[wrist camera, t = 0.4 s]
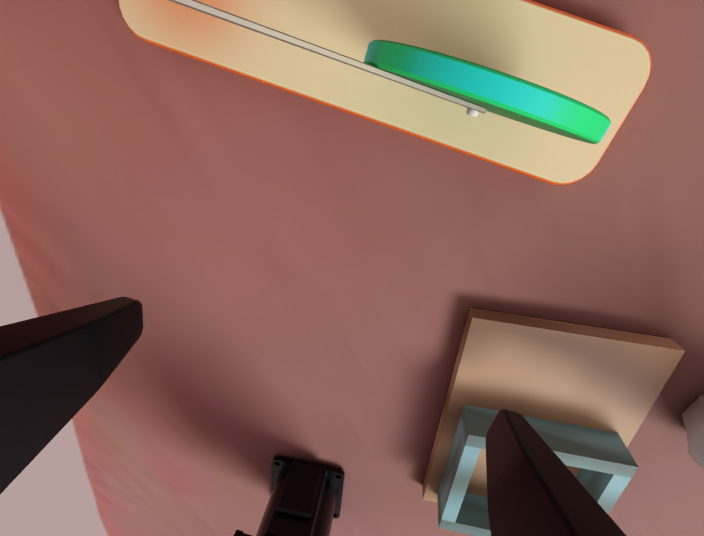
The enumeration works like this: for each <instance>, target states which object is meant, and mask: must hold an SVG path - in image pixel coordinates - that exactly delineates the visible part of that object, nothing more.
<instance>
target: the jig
mask: <svg viewBox="0 0 704 536" xmlns="http://www.w3.org/2000/svg"><path fill="white" fill-rule="evenodd" d="M684 353H685V350H684V349H683V348H682V347H681V346H679V345H678V344H677V343H676V342H675V341H674V340H673V339H671V338H664V337H658V336H651V335H645V334H638V333H632V332H625V331H619V330H612V329H606V328H600V327H593V326H587V325H580V324H574V323H567V322H561V321H554V320H548V319H541V318H535V317H528V316H522V315H515V314H509V313H502V312H496V311H489V310H483V309H476V308H470V309H469V313H468V317H467V320H466V324H465V328H464V332H463V336H462V339H461V343H460V347H459V351H458V354H457V358H456V362H455V366H454V369H453V373H452V377H451V381H450V385H449V388H448V392H447V396H446V400H445V403H444V407H443V411H442V415H441V419H440V422H439V426H438V430H437V434H436V437H435V441H434V445H433V449H432V453H431V456H430V460H429V464H428V468H427V471H426V475H425V479H424V483H423V500H425V501H430V502H435V503H438V521H439V528H443V529H448V530H452V531H457V532H461V533H466V534H470V535H475V536H491V531H490V523H489V515H488V504H487V476H486V434H487V431H488V429H489V427H490V426H491V424H492V422H493V420H494V419H495V417H496V415H497V413H498V412H499V411H500V410H501V409H503V408H506V409H509V410H513V411H516V412H519V413H520V414H522V415H523V417H524V418H525V419H526V420H527V421H528V422H529V424H530V425H531V426H532V427H533V428H534V429H535V430H536V432H537V433H538V434H539V435H540V436H541V437H542V439H543V440H544V441H545V442H546V443H547V444H548V446H549V447H550V448H551V449H552V450H553V451H554V452H555V454H556V455H557V456H558V457H559V458H560V459H561V461H562V462H563V463H564V464H565V465H566V466H567V468H568V469H569V470H570V471H571V472H572V473H573V475H574V476H575V477H576V478H577V479H578V480H579V481H580V483H581V484H582V485H583V486H584V487H585V488H586V490H587V491H588V492H589V493H590V494H591V495H592V497H593V498H594V499H595V500H596V501H597V502H598V503H599V505H600V506H601V507H602V508H603V509H604V510H605V512H606V513H607V514H608V513H609V512H610V510H611V509H612V507H613V506H614V504H615V503H616V501H617V499H618V498H619V496H620V495H621V493H622V492H623V490H624V489H625V487H626V486H627V484H628V483H629V481H630V479H631V478H632V476H633V475H634V473H635V472H636V470H637V469H638V466H637V464H636V462H635V461H634V459H633V457H632V456H631V454H630V452H629V451H628V449H627V447H628V445H629V443H630V442H631V440H632V438H633V437H634V435H635V433H636V432H637V430H638V429H639V427H640V425H641V424H642V422H643V420H644V419H645V417H646V415H647V414H648V412H649V410H650V409H651V407H652V405H653V404H654V402H655V400H656V399H657V397H658V396H659V394H660V392H661V391H662V389H663V387H664V386H665V384H666V382H667V381H668V379H669V377H670V376H671V374H672V372H673V371H674V369H675V367H676V366H677V364H678V363H679V361H680V359H681V358H682V356H683V354H684Z"/></svg>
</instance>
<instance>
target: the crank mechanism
mask: <svg viewBox="0 0 704 536" xmlns="http://www.w3.org/2000/svg"><path fill="white" fill-rule="evenodd" d="M118 1H119V8H120V11H121V14H122V17H123V19H124V21H125V23H126V24H127V26H128V27H129V29H130V30H131V31H132V32H133V33H134V34H135V35H136V36H137V37H138V38H140V39H142V40H144V41H146V42H148V43H151V44H154V45H157V46H159V47H162V48H165V49H168V50H171V51H174V52H177V53H179V54H182V55H185V56H188V57H191V58H194V59H197V60H199V61H202V62H205V63H208V64H211V65H214V66H216V67H219V68H222V69H225V70H228V71H231V72H234V73H236V74H239V75H242V76H245V77H248V78H251V79H254V80H256V81H259V82H262V83H265V84H268V85H271V86H273V87H276V88H279V89H282V90H285V91H288V92H291V93H293V94H296V95H299V96H302V97H305V98H308V99H311V100H313V101H316V102H319V103H322V104H325V105H328V106H330V107H333V108H336V109H339V110H342V111H345V112H348V113H350V114H353V115H356V116H359V117H362V118H365V119H368V120H370V121H373V122H376V123H379V124H382V125H385V126H388V127H390V128H393V129H396V130H399V131H402V132H405V133H407V134H410V135H413V136H416V137H419V138H422V139H425V140H427V141H430V142H433V143H436V144H439V145H442V146H445V147H447V148H450V149H453V150H456V151H459V152H462V153H464V154H467V155H470V156H473V157H476V158H479V159H482V160H484V161H487V162H490V163H493V164H496V165H499V166H502V167H504V168H507V169H510V170H513V171H516V172H519V173H522V174H524V175H527V176H530V177H533V178H536V179H539V180H541V181H544V182H547V183H550V184H556V185H564V184H571V183H573V182H576V181H578V180H581V179H582V178H584V177H585V176H586V175H588V174H589V173H590V172H591V171H592V170H593V169H594V167H595V166H596V165H597V164H598V162H599V161H600V159H601V157H602V156H603V154H604V152H605V151H606V149H607V148H608V146H609V144H610V143H611V141H612V139H613V138H614V136H615V135H616V133H617V131H618V130H619V128H620V126H621V125H622V123H623V122H624V120H625V118H626V117H627V115H628V113H629V112H630V110H631V109H632V107H633V105H634V104H635V102H636V100H637V99H638V97H639V95H640V94H641V92H642V91H643V89H644V87H645V85H646V83H647V81H648V78H649V76H650V72H651V65H652V60H651V55H650V51H649V49H648V48H647V46H646V45H645V43H644V42H643V41H642V40H640V39H638V38H637V37H635V36H633V35H630V34H627V33H624V32H622V31H619V30H616V29H613V28H610V27H607V26H604V25H601V24H598V23H595V22H592V21H590V20H587V19H584V18H581V17H578V16H575V15H572V14H569V13H566V12H563V11H560V10H558V9H555V8H552V7H549V6H546V5H543V4H540V3H537V2H534V1H531V0H118Z"/></svg>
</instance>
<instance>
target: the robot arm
mask: <svg viewBox="0 0 704 536" xmlns="http://www.w3.org/2000/svg"><path fill="white" fill-rule="evenodd" d="M142 330H143V313H142V304H141V302H140V301H138V300H135V299H131V298H128V297H119V298H115V299H111V300H107V301H103V302H99V303H95V304H90V305H86V306H82V307H78V308H74V309H70V310H66V311H62V312H58V313H53V314H49V315H45V316H41V317H37V318H33V319H29V320H25V321H21V322H17V323H13V324H9V325H4V326H0V494H1V493H2V492H3V491H4V490H5V488H7V486H8V485H9V484H10V483H11V482H12V481H13V480H14V479H15V478H16V477H17V476H18V475H19V474H20V473H21V472H22V470H23V469H24V468H25V467H26V466H27V465H28V464H29V463H30V462H31V461H32V460H33V459H34V458H35V456H37V455H38V454H39V452H40V451H41V450H42V449H43V448H44V447H45V446H46V445H47V444H48V443H49V442H50V441H51V440H52V439H53V438H54V437H55V435H56V434H57V433H58V432H59V431H60V430H61V429H62V428H63V427H64V426H65V425H66V424H67V423H68V422H69V421H70V420H71V419H72V418H73V416H74V415H75V414H76V413H77V412H78V411H79V410H80V409H81V408H82V407H83V406H84V405H85V404H86V403H87V402H88V401H89V400H90V398H91V397H92V396H93V395H94V394H95V393H96V392H97V391H98V390H99V389H100V387H101V386H102V385H103V384H104V383H105V381H106V380H107V379H108V378H109V376H110V375H111V374H112V372H113V371H114V370H115V368H116V367H117V366H118V365H119V363H120V362H121V361H122V359H123V358H124V357H125V356H126V354H127V353H128V352H129V350H130V349H131V348H132V347H133V345H134V344H135V343H136V341H137V340H138V339H139V337H140V336H141V334H142ZM344 475H345V473H344V471H343V470H341V469H338V468H333V467H328V466H324V465H319V464H314V463H309V462H305V461H300V460H295V459H290V458H286V457H281V456H275V457H274V458H273V460H272V494H271V497H270V500H269V502H268V505H267V508H266V510H265V513H264V516H263V518H262V521H261V524H260V527H259V529H258V532H257V535H256V536H329V535H330V530H331V525H332V520H333V518H339V516H340V509H341V501H342V492H343V483H344ZM486 476H487V504H488V515H489V523H490V531H491V536H626V535H625V534H624V532H623V531H622V530H621V529H620V528H619V527H618V526H617V524H616V523H615V522H614V521H613V520H612V519H611V517H610V516H609V515H608V514H607V513H606V512H605V510H604V509H603V508H602V507H601V506H600V505H599V503H598V502H597V501H596V500H595V499H594V498H593V497H592V495H591V494H590V493H589V492H588V491H587V490H586V488H585V487H584V486H583V485H582V484H581V483H580V481H579V480H578V479H577V478H576V477H575V476H574V475H573V473H572V472H571V471H570V470H569V469H568V468H567V466H566V465H565V464H564V463H563V462H562V461H561V459H560V458H559V457H558V456H557V455H556V454H555V452H554V451H553V450H552V449H551V448H550V447H549V446H548V444H547V443H546V442H545V441H544V440H543V439H542V437H541V436H540V435H539V434H538V433H537V432H536V430H535V429H534V428H533V427H532V426H531V425H530V424H529V422H528V421H527V420H526V419H525V418H524V417H523V415H522V414H520V413H519V412H516V411H513V410H509V409H506V408H503V409H501V410H500V411H499V412H498V413H497V415H496V417H495V419H494V420H493V422H492V424H491V426H490V427H489V429H488V431H487V434H486ZM234 536H251V535H248V534H245V533H243V531H240V530H236V532H235V534H234Z"/></svg>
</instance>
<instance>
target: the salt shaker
mask: <svg viewBox="0 0 704 536" xmlns="http://www.w3.org/2000/svg"><path fill="white" fill-rule="evenodd" d="M682 418H683V421H684V425H685V429H686V433H687V440H688V450H689V453H690V455H691V457H692V458H693V460H694V461H695V462H696V463H697V464H698V465H699V466H700V467H701V468H702V469H703V470H704V395H701V396H699V397H698V398H697V399H696V400H695V401H694V402H693V403H692V404H691V405H690V406H689V407H688V408H687V409H686V410H685V411H684V412H683V413H682Z"/></svg>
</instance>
